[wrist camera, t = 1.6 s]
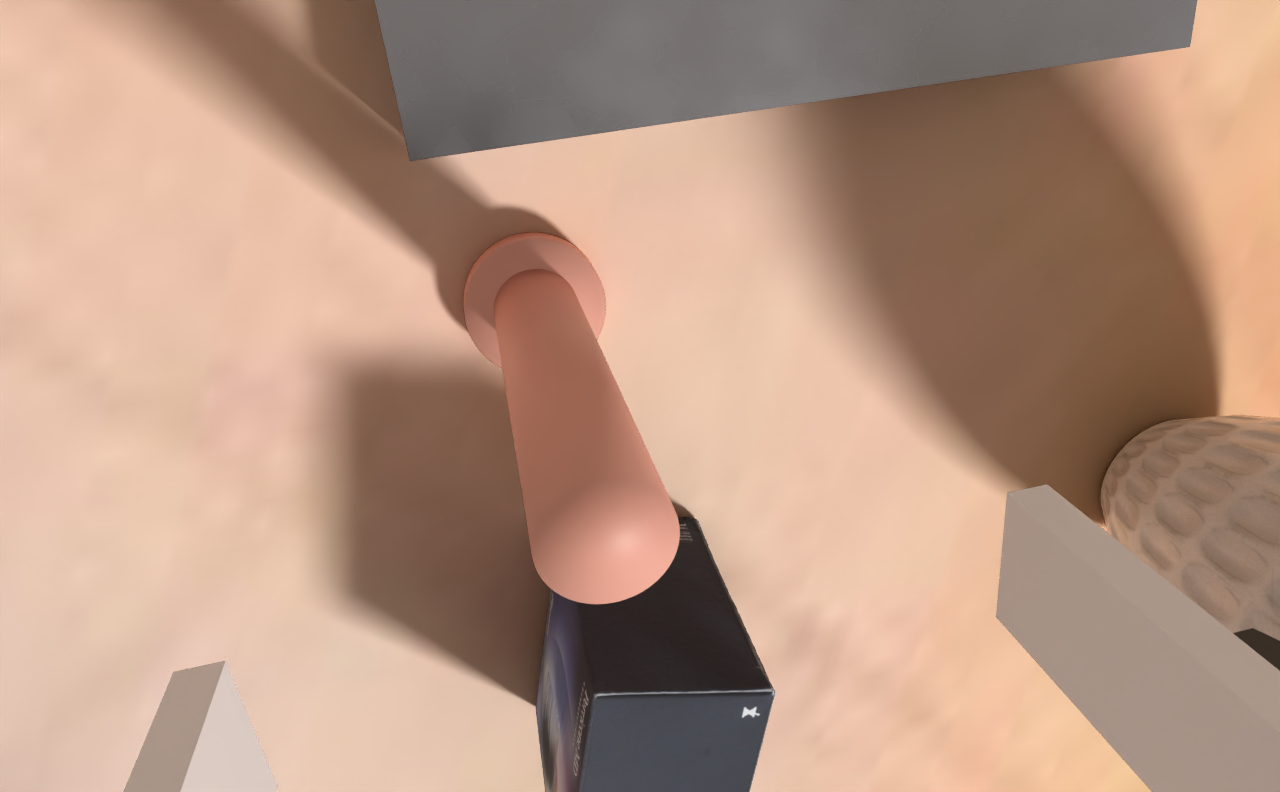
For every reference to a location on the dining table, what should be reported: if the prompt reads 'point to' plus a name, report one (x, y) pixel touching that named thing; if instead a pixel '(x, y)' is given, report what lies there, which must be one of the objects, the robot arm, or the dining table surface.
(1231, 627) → the vase
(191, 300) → the dining table surface
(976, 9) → the grey slotted plate
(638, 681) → the small box
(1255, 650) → the robot arm
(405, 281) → the dining table surface
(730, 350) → the dining table surface
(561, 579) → the stud
